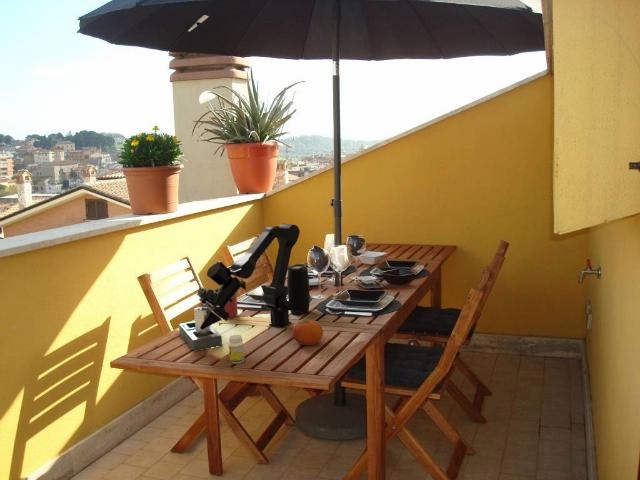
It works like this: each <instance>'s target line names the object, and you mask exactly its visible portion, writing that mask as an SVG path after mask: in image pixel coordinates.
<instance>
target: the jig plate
mask: <svg viewBox="0 0 640 480" xmlns="http://www.w3.org/2000/svg"><path fill="white" fill-rule="evenodd" d="M178 326H179V327H178V329H179V335H180V336H181V338H182V339H183V340H184V341H185V343H187V345H188V344H189V345H190V346H191V347H192V348H191V347H190V346H189V347H190V348H191V350H192V351H193V350H199V351H202V350H201V349H204V350H207V349H206V348H210V349H212V348H211V347H215V348H217V347H216V346H221V347H223V339H222V334H221V333H220V332H219V331H218V330H217V329H216V328H215V327H214V326H212V325H210V335H207V336H201V337H196V328H195V320H194V321H188V322H181V323H179V324H178Z"/></svg>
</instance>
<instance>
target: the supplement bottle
mask: <svg viewBox="0 0 640 480" xmlns="http://www.w3.org/2000/svg"><path fill="white" fill-rule="evenodd" d="M228 341H229V343H228V353H229V354H228V355H229V362H230V363H231V362H232V363H231V364H241V362H242V363H244V362H245V348H244V341H243V337H242V335H241V334H231V335H229V337H228Z"/></svg>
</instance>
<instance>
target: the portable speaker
mask: <svg viewBox="0 0 640 480" xmlns="http://www.w3.org/2000/svg"><path fill="white" fill-rule="evenodd" d="M308 272H309V271H308V267H307V266H306V265H305V264H303V263H296V264H294V265H288V270H287V276H286V280H287V281H286V283H287V300H288V301H289V302H290V303H291V304H292V308H291V310H289V312H290V313H291V314H292V315H294V316H297V315H298V316H300V315H301V314H302V313H303V314H304V313H306V314H309V313H310V299H311V297H310V278H309V273H308Z"/></svg>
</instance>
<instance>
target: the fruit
mask: <svg viewBox="0 0 640 480" xmlns="http://www.w3.org/2000/svg"><path fill="white" fill-rule="evenodd" d="M323 330H324V329H323V327H322V325H321V324H320V322H317V321H315V320H314V319H305V320H300V321H298V322H297V323H295V325H294V326H293V328H292V338H293V339H294V340H295V342H296V343H298V344H299V345H304V346H314V345H316V344H318V343H320V341H321V340H322V339H323V335H324V331H323Z"/></svg>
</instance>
